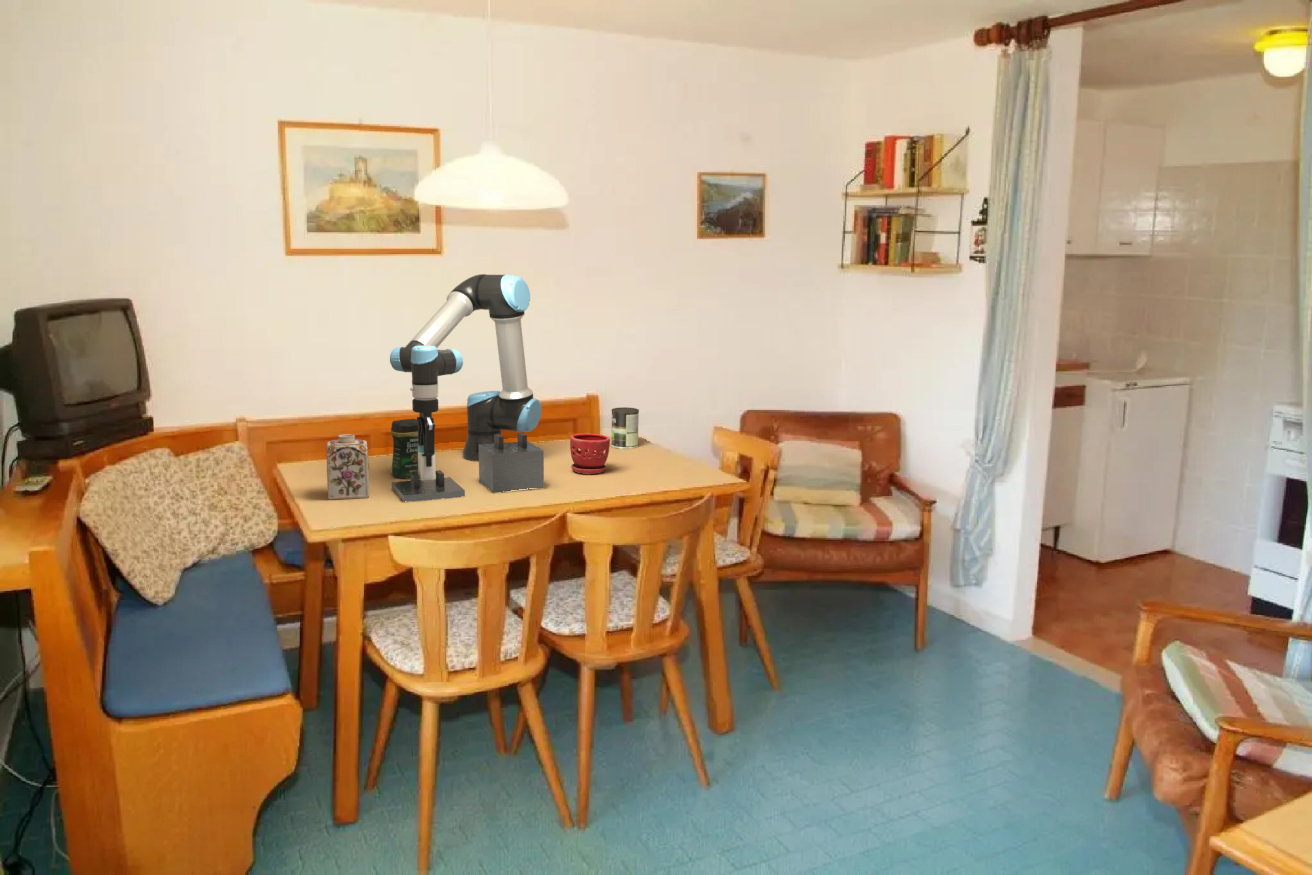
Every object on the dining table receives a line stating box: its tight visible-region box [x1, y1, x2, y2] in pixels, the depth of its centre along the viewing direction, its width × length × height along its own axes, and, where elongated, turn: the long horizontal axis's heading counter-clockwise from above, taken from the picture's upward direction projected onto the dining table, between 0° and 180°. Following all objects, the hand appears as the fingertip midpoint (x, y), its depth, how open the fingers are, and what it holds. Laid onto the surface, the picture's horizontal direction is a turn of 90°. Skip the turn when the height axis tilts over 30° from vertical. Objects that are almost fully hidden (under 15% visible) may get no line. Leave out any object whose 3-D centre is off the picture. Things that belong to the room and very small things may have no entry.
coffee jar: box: [390, 418, 419, 479], centre depth 317 cm, size 10×8×19 cm
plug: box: [418, 445, 437, 480], centre depth 296 cm, size 3×4×10 cm, turn 115°
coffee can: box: [610, 406, 640, 450], centre depth 372 cm, size 10×10×14 cm
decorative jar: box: [325, 433, 370, 501], centre depth 293 cm, size 12×12×18 cm
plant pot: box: [569, 433, 611, 475], centre depth 329 cm, size 13×13×12 cm
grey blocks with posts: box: [391, 432, 545, 503], centre depth 302 cm, size 18×43×16 cm, turn 115°
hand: (427, 475), depth 297 cm, fingers closed on plug, 3 cm apart
